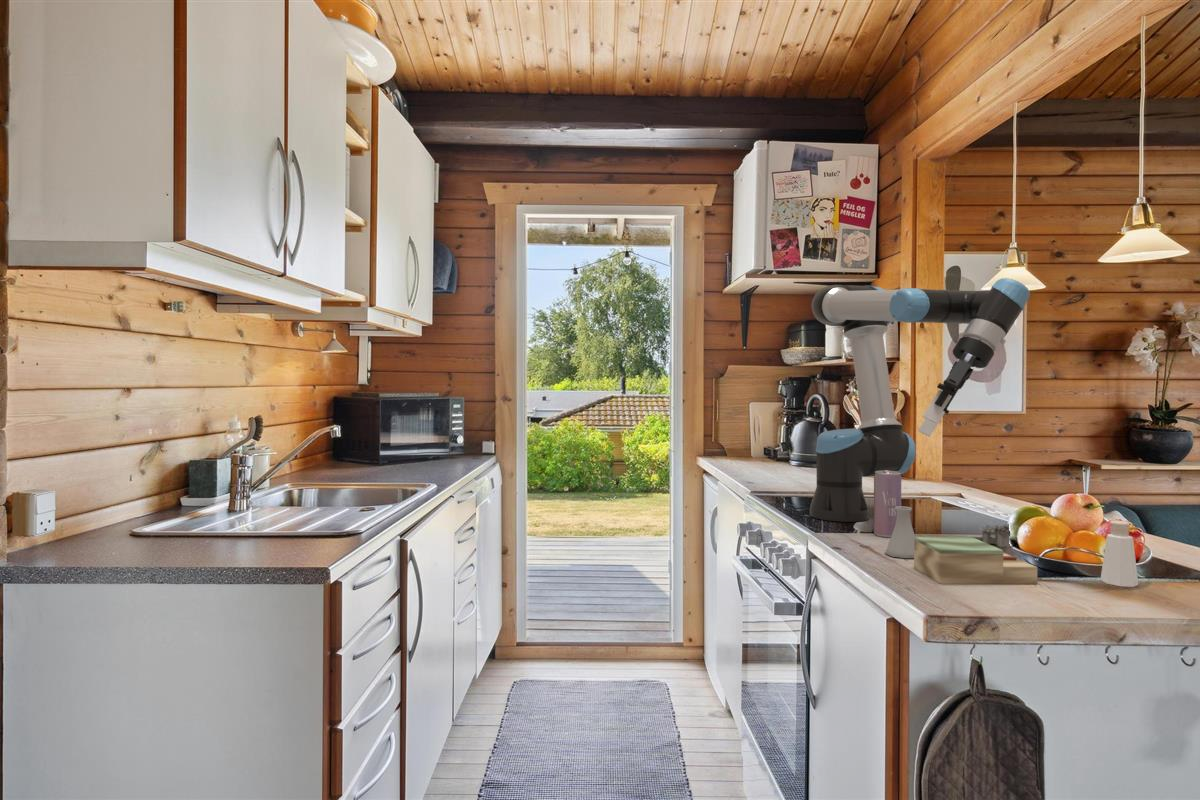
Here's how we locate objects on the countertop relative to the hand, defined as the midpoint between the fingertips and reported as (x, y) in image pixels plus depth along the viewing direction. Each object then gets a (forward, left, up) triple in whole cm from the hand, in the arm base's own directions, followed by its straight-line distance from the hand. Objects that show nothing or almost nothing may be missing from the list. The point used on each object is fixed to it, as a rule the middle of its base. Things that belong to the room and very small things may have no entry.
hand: (926, 427), depth 150 cm
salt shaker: (+26, +23, -27) cm, 44 cm away
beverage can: (-13, -3, -27) cm, 30 cm away
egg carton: (-6, +21, -27) cm, 34 cm away
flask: (+6, -7, -27) cm, 28 cm away
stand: (+22, -1, -26) cm, 34 cm away
